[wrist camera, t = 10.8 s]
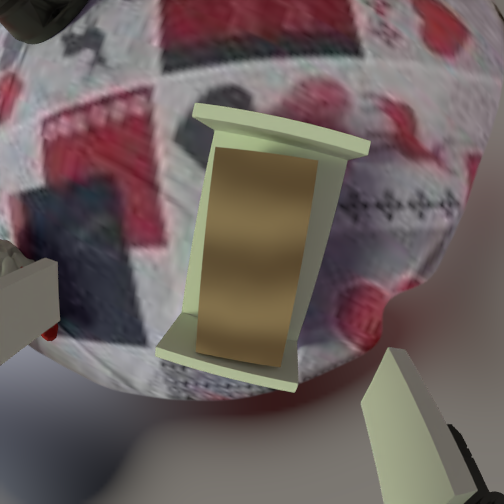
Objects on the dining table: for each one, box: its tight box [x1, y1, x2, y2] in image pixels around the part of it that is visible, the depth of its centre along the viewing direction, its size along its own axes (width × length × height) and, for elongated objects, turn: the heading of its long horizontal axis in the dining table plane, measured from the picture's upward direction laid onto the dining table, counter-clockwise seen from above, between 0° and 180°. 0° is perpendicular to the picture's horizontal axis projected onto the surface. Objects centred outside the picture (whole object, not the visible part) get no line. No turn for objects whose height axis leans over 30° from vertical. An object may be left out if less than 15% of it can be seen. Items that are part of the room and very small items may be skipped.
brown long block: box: [196, 147, 318, 367], centre depth 24 cm, size 16×7×4 cm, turn 172°
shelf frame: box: [155, 103, 371, 392], centre depth 25 cm, size 21×12×8 cm, turn 168°
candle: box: [0, 239, 58, 341], centre depth 29 cm, size 9×11×15 cm
